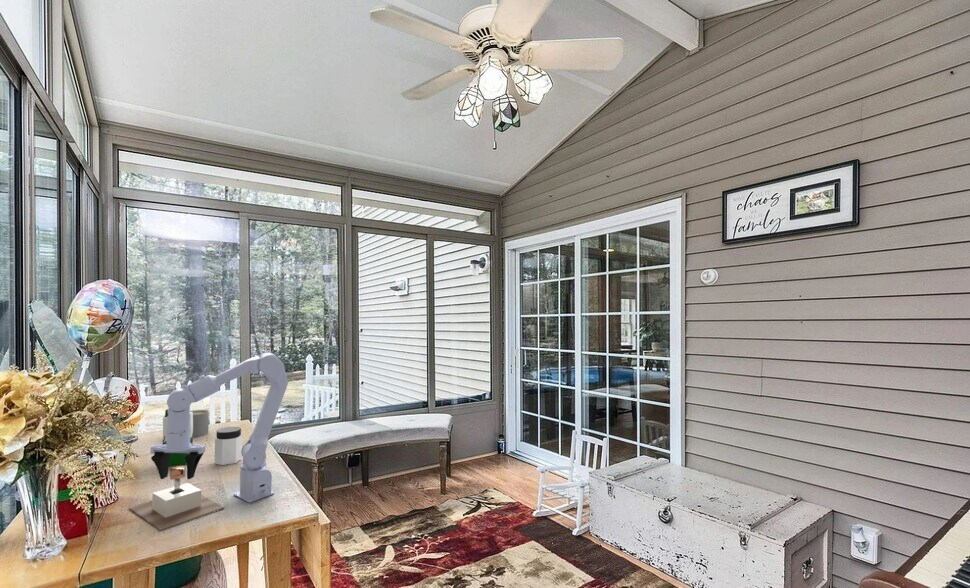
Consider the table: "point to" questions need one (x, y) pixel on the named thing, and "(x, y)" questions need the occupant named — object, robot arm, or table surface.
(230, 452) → the jar
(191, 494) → the hollow square block
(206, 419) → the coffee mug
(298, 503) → the table surface
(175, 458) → the milk carton
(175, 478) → the plunger
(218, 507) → the board
